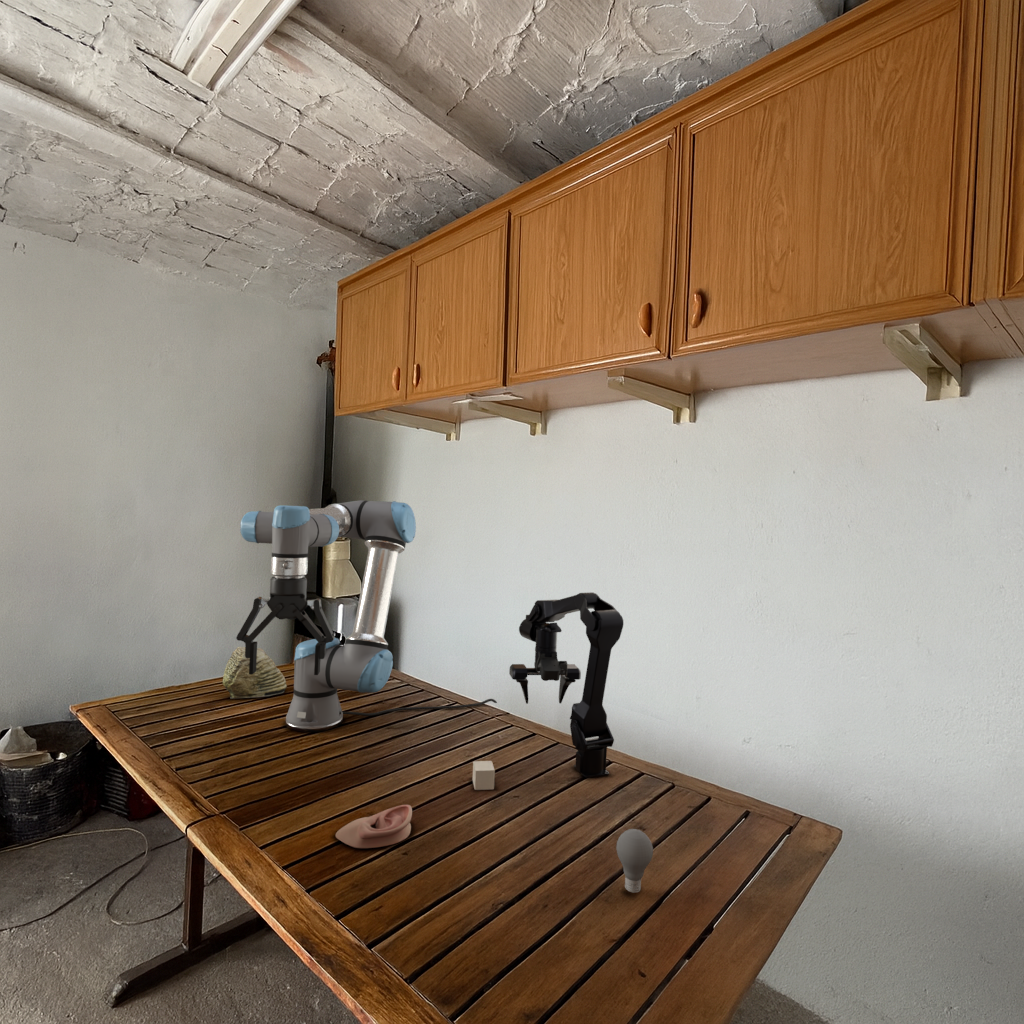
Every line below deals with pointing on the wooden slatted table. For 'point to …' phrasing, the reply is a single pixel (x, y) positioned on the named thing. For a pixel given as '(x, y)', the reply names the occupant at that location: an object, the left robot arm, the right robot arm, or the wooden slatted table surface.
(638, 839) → the light bulb
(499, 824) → the wooden slatted table surface
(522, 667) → the right robot arm
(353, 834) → the anatomical model
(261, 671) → the fossil
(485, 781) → the block
